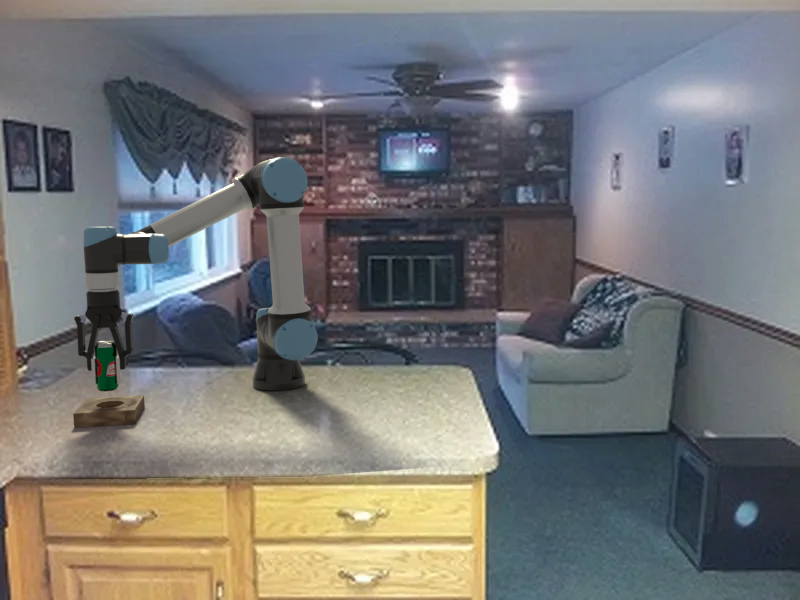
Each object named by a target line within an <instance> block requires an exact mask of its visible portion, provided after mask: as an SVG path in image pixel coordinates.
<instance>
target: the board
mask: <svg viewBox="0 0 800 600" xmlns="http://www.w3.org/2000/svg"><path fill="white" fill-rule="evenodd" d="M145 406H146V405H145V395H129V396H127V395H126V396H112V397H111V396H109V397H93V398H92V397H91V398H90V397H89V398H86V399H85V400H84V401H83V402H82V403H81V404H80V406H78V408H77V409H76V410H75V411H74V412H73V413H72V415H73V416H72V417H73V428H74V429H76V428H77V429H78V428H93V427H109V426H125V425H126V426H127V425H128V426H129V425H136V424H137V423H138V421H139V420H140V418H141V416H142V413H143V412H144V411H145Z"/></svg>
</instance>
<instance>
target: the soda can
mask: <svg viewBox="0 0 800 600" xmlns="http://www.w3.org/2000/svg"><path fill="white" fill-rule="evenodd" d="M117 356H118V351H117V348H116V345H115V342H114V340H99V341H97V342H96V346H95V351H94V357H95V362H96V381H97V384H96V389H97V390H98V391H100V392H112V391H115V390H118V388H119V386H120V384H117V369H116V357H117Z"/></svg>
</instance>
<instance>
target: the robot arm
mask: <svg viewBox="0 0 800 600" xmlns="http://www.w3.org/2000/svg"><path fill="white" fill-rule="evenodd" d="M308 183H309V182H308V176H307V173H306V171H305V169H304V167H303V166H302V164H300V162H298V161H297V160H295V159H293V158H290V157H285V156H284V157H283V156H282V157H281V156H278V157H273V158H270V159H267V160H263V161H260V162H259V163H257V164H256V165H254V166H253V167H251V168H250V169H248V170H247V171H246V172H244V173H241V174H239V175H238V176H237V177H234V178H233V180H232V183H231V184H229V185H226V186H224V187H223V188H221V189H219V190H217V191H215V192H213V193H210V194H209V195H207V196H204V197H202V198H201V199H198V200H196V201H195V202H192V203H191V204H188V205H186V206H184V207H183V208H181V209H179V210H177V211H174V212H173V213H171V214H168V215H166V216H165V217H163V218H160V219H158V220H157V221H155V222H152V223H150V224H149V225H147V226H144V227H143V228H140V229H139V230H136V231H131V232H130V233H128V234H121V233H118V232H117V228H116V227H115V226H106V225H105V226H86V227H85V228H84V230H83V255H84V256H83V257H84V270H85V271H84V272H85V273H84V274H85V289H87V291H86V293H85V295H86V311H85V313H83V314H77V315H75V316H74V317H73V319H74V322H75V325H76V330H77V332H76V333H77V355H78V356H80V357H85V359H86V364H87V365H86V367H87V368H86V369H87V371H88V372H91V379H92V385H93V386H95V385H96V386H97V381H96V362H95V346H96V342H98V337H99V331H100V329H103V328H107V329H108V328H109V331H110V332H111V336H112V339H113V341H114V342H115V345H116V348H117V357H116V369H117V384H119V385H120V384H122V383H123V370H126V367H127V358H126V357H127V356H128V355H131V354H132V353H133V352H134V344H133V343H134V341H133V326H132V325H133V324H132V322H133V319H134V314H133V313H127V312H124V311H123V309H122V308H121V300H120V299H121V295H120V294H121V293H120V290H119V289H118V288H120V280H119V279H120V278H119V276H120V275H119V265H120V266H121V265H122V266H125V265H159V264H165V263H168V261H169V255H170V250H169V249H170V247H172V246H174V245H176V244H178V243H180V242H181V241H184V240H185V239H188V238H190V237H192V236H194V235H195V234H198V233H199V232H202V231H204V230H205V229H207V228H209V227H211V226H213V225H215V224H217V223H219V222H222V221H223V220H226V219H227V218H229V217H231V216H233V215H235V214H237V213H240V212H241V211H243V210H245V209H247V210H253V209H254V208H256V207H259V210H260V212H261V213H263V215H265V217H266V225H267V226H266V227H267V240H268V255H269V256H268V257H269V268H270V271H269V272H270V281H271V295H272V296H271V297H272V306H270V307H264V308H259V309H257V311H256V317H255V322H256V339H257V341H256V342H257V343H256V344H257V361H256V366H255V370H254V373H253V376H252V387H253V388H254V389H257V390H260V391H261V390H262V391H270V392H271V391H287V390H292V389H298V388H301V387H303V386H304V385H306V378H305V377H306V376H305V373H304V370H303V367H302V365H301V362H300V360H304V359H305V358H308V356H310V354H311V355H312V353H313V351H314V350H315V348H316V346H317V343H318V340H319V339H318V332H317V329H316V327H315V325H314V323H312V309H311V307H310V306H309V305H308V304H307V303H306V301H305V300H306V299H305V287H304V273H303V272H304V271H303V258H302V257H303V256H302V242H301V227H300V213H302V211H303V210H304V209H305V201H304V200H305V199H304V195H305V193H306V190H307V188H308ZM121 318H122V322H124V335H125V346H124V343H123V340H122V336H121V334H120V331H119V327H118V321H119V320H120V319H121ZM87 320H89V322H90V323H91V324H92V326H91V332H90V337H89V342H88V346H87V347H86V343H87V342H86V325H85V323H86V322H87Z"/></svg>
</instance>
